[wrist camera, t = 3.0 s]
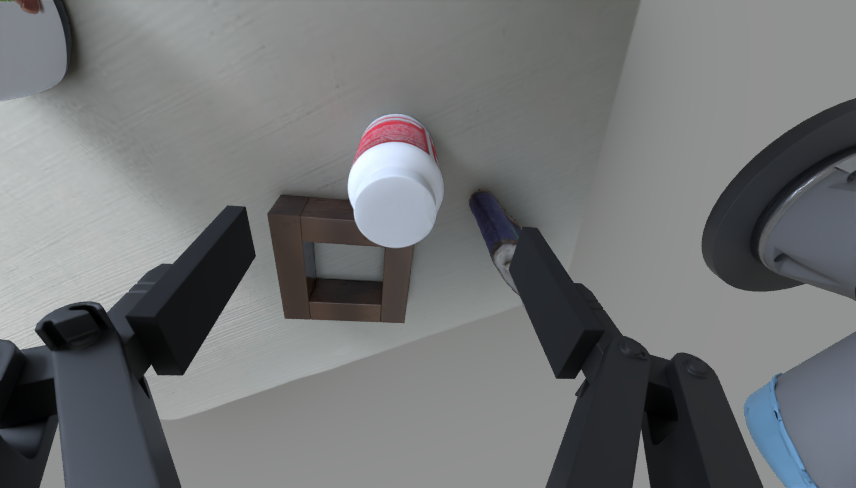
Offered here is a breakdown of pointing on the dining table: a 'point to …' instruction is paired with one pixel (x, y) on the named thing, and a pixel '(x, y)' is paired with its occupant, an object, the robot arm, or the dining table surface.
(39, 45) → the spread jar
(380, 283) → the socket base
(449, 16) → the dining table surface
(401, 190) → the pill bottle
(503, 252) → the flask
